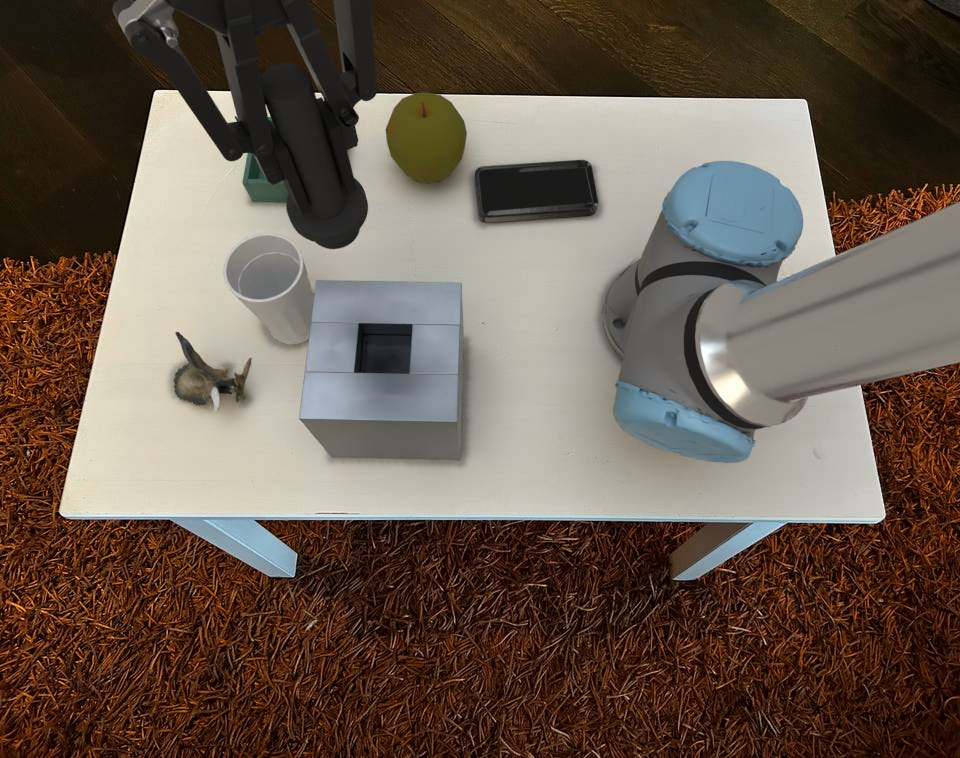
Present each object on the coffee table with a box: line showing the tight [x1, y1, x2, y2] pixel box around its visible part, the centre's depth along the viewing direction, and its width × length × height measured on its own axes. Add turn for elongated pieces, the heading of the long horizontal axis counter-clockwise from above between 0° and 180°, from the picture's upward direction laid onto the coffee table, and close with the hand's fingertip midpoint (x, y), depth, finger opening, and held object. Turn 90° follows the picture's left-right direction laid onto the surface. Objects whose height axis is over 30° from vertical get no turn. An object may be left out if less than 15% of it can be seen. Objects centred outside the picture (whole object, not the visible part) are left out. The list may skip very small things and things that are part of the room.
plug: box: [260, 62, 369, 250], centre depth 45 cm, size 6×6×15 cm
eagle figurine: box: [173, 331, 252, 413], centre depth 71 cm, size 8×7×9 cm
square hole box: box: [298, 279, 465, 461], centre depth 66 cm, size 14×14×14 cm
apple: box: [385, 91, 468, 184], centre depth 79 cm, size 10×10×11 cm
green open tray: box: [241, 116, 289, 203], centre depth 82 cm, size 11×10×4 cm
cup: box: [222, 232, 315, 345], centre depth 71 cm, size 8×8×12 cm
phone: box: [474, 159, 599, 223], centre depth 82 cm, size 8×1×15 cm
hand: (321, 188), depth 47 cm, fingers closed on plug, 3 cm apart
